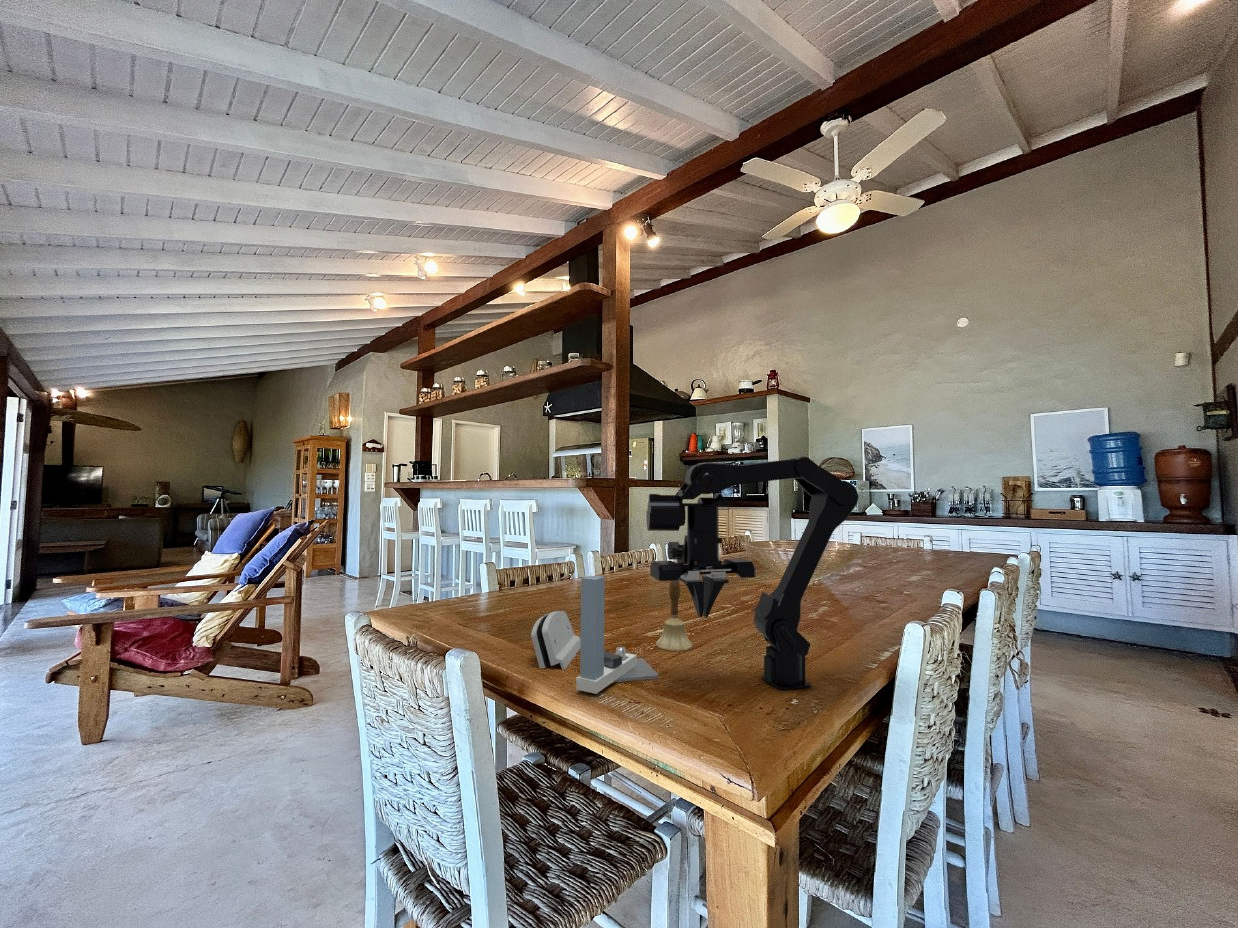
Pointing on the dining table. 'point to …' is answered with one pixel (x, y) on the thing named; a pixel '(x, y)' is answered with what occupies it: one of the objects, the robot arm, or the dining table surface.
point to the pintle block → (636, 673)
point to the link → (596, 640)
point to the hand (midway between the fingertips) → (702, 616)
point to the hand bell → (674, 625)
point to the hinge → (554, 640)
